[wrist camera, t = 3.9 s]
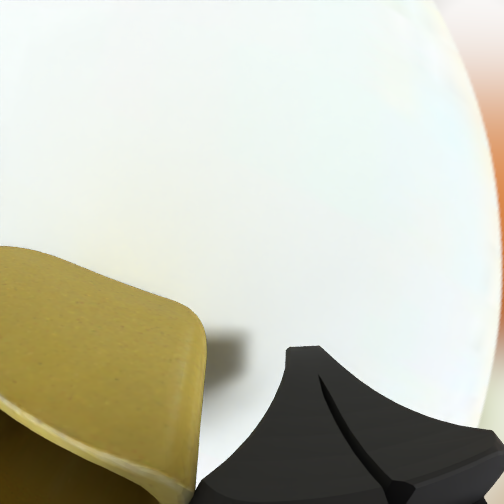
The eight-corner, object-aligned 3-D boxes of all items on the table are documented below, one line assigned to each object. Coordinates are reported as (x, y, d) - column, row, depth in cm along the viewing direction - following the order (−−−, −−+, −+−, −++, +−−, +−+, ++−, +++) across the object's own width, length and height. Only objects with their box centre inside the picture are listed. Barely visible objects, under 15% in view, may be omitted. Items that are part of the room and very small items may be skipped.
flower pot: (43, 369, 13) (-51, 470, 4) (47, 211, 11) (-130, 258, 2) (192, 430, 13) (156, 586, 4) (240, 273, 11) (203, 491, 3)
